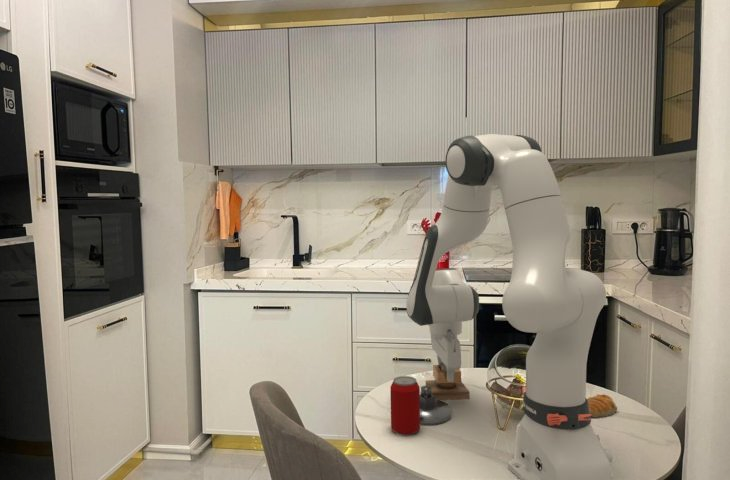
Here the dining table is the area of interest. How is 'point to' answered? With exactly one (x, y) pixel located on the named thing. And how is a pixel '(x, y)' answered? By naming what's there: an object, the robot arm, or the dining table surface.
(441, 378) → the wooden square frame
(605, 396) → the pastry
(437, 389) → the walnut stand
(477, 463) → the dining table surface
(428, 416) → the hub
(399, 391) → the beverage can
